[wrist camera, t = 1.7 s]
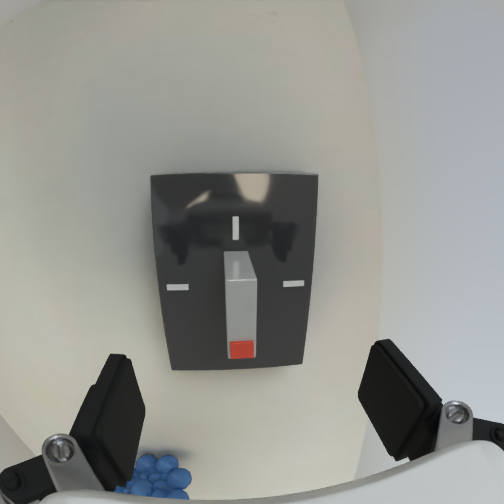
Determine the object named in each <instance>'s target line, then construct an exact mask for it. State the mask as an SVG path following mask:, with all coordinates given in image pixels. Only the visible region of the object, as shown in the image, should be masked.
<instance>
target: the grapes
mask: <svg viewBox="0 0 504 504" xmlns="http://www.w3.org/2000/svg"><path fill="white" fill-rule="evenodd" d="M178 466H179V463H178V460H177V458H176V457H174V456H172V455H165V456H162V457H160V458H159V459H158V460H157V458H155V457H154V456H153V455H143V456H141V457H139V458H138V459H137V461H136V464H135V468H134V471H133V476H132V480H131V481H127V486H126V487H120V486H117V487H116V491H114V492H116V493H124V494H132V495H139V496H147V497H157V498H169V499H185V500H189V497H188V494H187V493H186V492H185V491H184V490H182V489H185V488H186V487H187V486H188V485H189V484H190V483H191V479H192V477H191V474H190V472H189V471H188V470H187V469H185V468H178Z"/></svg>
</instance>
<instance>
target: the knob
mask: <svg viewBox="0 0 504 504" xmlns="http://www.w3.org/2000/svg"><path fill="white" fill-rule="evenodd" d="M223 259H224V295H225V321H226V338H227V353H228V358H229V359H241V358H254V357H256V327H257V278H256V275H255V271H254V268H253V265H252V262H251V259H250V256H249V253H248V251H225V252H224V253H223Z"/></svg>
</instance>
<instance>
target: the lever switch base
mask: <svg viewBox="0 0 504 504" xmlns="http://www.w3.org/2000/svg"><path fill="white" fill-rule="evenodd" d="M150 181H151V205H152V222H153V236H154V248H155V259H156V269H157V278H158V286H159V294H160V302H161V309H162V316H163V323H164V329H165V335H166V341H167V347H168V353H169V358H170V364H171V369H172V370H232V369H251V368H266V367H278V366H289V365H298V364H302V363H303V355H304V348H305V340H306V332H307V323H308V314H309V305H310V295H311V284H312V273H313V261H314V248H315V234H316V217H317V197H318V174H314V173H306V172H285V171H202V172H176V173H160V174H155V175H151V176H150ZM225 251H248V253H249V256H250V259H251V262H252V265H253V268H254V271H255V275H256V278H257V327H256V357H254V358H241V359H229V358H228V353H227V338H226V321H225V295H224V259H223V253H224V252H225Z"/></svg>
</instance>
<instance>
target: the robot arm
mask: <svg viewBox="0 0 504 504" xmlns="http://www.w3.org/2000/svg"><path fill="white" fill-rule="evenodd" d="M358 399H359V401H360V403H361V404H362V406H363V408H364V410H365V412H366V413H367V415H368V417H369V419H370V421H371V423H372V424H373V426H374V428H375V430H376V432H377V433H378V435H379V437H380V439H381V441H382V442H383V445H384V446H385V448H386V450H387V452H388V454H389V455H390V456H393V457H394V459H395V460H396V461H399V460H402V459H404V458H407V457H408V458H409V460H410V462H407V463H405V464H402V465H400V466H397V467H394V468H392V469H389V470H386V471H383V472H380V473H377V474H374V475H371V476H368V477H365V478H361V479H358V480H354V481H350V482H347V483H343V484H339V485H335V486H330V487H326V488H321V489H317V490H312V491H306V492H301V493H294V494H288V495H281V496H273V497H264V498H252V499H237V500H185V499H169V498H157V497H147V496H139V495H132V494H124V493H116V492H114V491H116V487H117V486H120V487H126V486H127V481H131V480H132V476H133V471H134V465H135V460H136V455H137V450H138V445H139V440H140V436H141V431H142V427H143V422H144V418H145V405H144V402H143V399H142V396H141V393H140V390H139V386H138V383H137V380H136V376H135V373H134V369H133V366H132V362H131V360H130V359H128V358H127V357H126V356H125V355H124V354H110V355H109V357H108V359H107V361H106V363H105V365H104V367H103V369H102V371H101V373H100V375H99V377H98V380H97V382H96V384H95V385H94V384H93V385H92V386H91V387H90V389H89V391H88V393H87V395H86V397H85V399H84V401H83V404H82V406H81V408H80V410H79V413H78V415H77V417H76V419H75V422H74V424H73V426H72V429H71V431H70V433H69V435H67V434H55V435H52V436H50V437H49V438H47V439H46V440H45V442H44V443H43V445H42V455H39V456H37V457H34V458H32V459H30V460H27V461H24V462H22V463H19V464H17V465H14V466H11V467H8V468H6V469H4V470H3V471H2V472H1V474H0V504H504V424H502V423H497V422H492V421H487V420H482V419H477V418H473V414H472V410H471V409H470V407H469V406H468V405H466V404H465V403H463V402H460V401H449V402H447V403H445V404H444V405H443V404H442V403H441V401H442V399H441V398H440V397H439V395H438V394H437V393H436V392H435V391H434V389H433V388H432V387H431V386H430V385H429V383H428V382H427V381H426V380H425V379H424V377H423V376H422V375H421V374H420V373H419V372H418V370H417V369H416V368H415V367H414V366H413V365H412V364H411V362H410V361H409V360H408V359H407V358H406V357H405V356H404V354H403V353H402V352H401V351H400V350H399V349H398V348H397V346H396V345H395V344H394V343H393V342H392V341H391V340H390V339H385V340H379V341H376V342H375V343H374V345H372V346H371V349H370V353H369V357H368V360H367V364H366V367H365V371H364V374H363V378H362V381H361V384H360V388H359V391H358Z"/></svg>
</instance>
